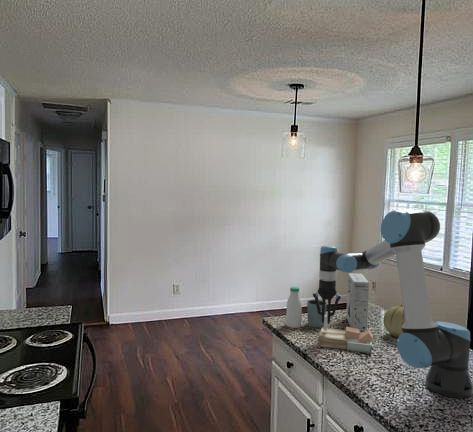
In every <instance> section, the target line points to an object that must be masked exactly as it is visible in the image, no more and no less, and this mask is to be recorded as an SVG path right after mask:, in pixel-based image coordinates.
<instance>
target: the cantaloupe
mask: <svg viewBox="0 0 473 432" xmlns="http://www.w3.org/2000/svg"><path fill="white" fill-rule="evenodd" d="M382 321H383V326H384V329H385V330H386V331H387V332H388V333H389V334H390V335H392V336H393V337H396V338H398V337H399V336H400V335H401V334H403V333H402V325H403V324H404V323H405V314H404V308H403V304H400V305H399V306H398V305H397V306H396V305H394V306H391V307H390V308H388V309H387V310H386V312H385V313H384V315H383V320H382Z"/></svg>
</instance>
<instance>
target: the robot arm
mask: <svg viewBox="0 0 473 432" xmlns="http://www.w3.org/2000/svg"><path fill="white" fill-rule="evenodd" d="M440 230H441V223H440V220H439V218H438V216H436V215H435V213H434V212H432V211H430V210H425V209H396V210H391V211H390V212H388V213H386V214H385V216H384V218H383V219H382V221H381V224H380V234H381V237H382V239H383V240H382V241H380V242H378V243H376V244H374V245H372V246H371V247H370V248H368V249H366V250H364V251H363V252H354V253H353V252H352V253H341V252H338V247H336V246H335V245H323V246H320V254H319V272H318V273H319V276H318V277H319V280H318V290H317V291H315V292H313V293H312V296H313V298H314V300H315V301H316V306H317V311H318V314H320V315H322V323H324V326H323V328H324V330H325V331H327V329H328V328H329V327H328V324H330V323H331V317H333V316H335V313H336V310H337V307H338V304H339V301H340V300H341V297H342V295H341V294H339V293H337V292H338V291H337V290H336V285H337V281H336V279H337V271H340V272H342V273H353V272H354V271H359V270H361V271H362V270H372V269H376V268H378V267H379V265H380V263H383V262H384V261H387V260H389V259H390V258H393V257H394V256H395V258H396V266H397V270H398V272H397V273H398V279H399V286H400V294H401V301H402V305H403V308H404V314H405V323H404V324H403V325H402V333H403V334H401V335H400V336H399V337H397V340H396V348H397V352H398V354H399V356H400V359H402V360H403V361H404V362H405V363H406V364H407V366H409V367H412V368H414V369H415V368H416V369H422V368H424V369H425V368H426V369H427V368H429V369H428V370H427V371H428V372H427V373H426V375H425V376H426V377H425V386H426V387H427V389H429V390H430V391H432V392H434V393H436V394H438V395H442V396H444V397H449V398H453V399H467V398H470V397H472V396H473V381H472V379H471V375H470V372H469V367H470V366H469V365H470V364H469V363H470V352H471V351H470V347H471V341H472V340H471V331H470V330H469V329H468V328H466V327H464V326H462V325H460V324H456V323H452V322H445V321H433V316H432V311H431V303H430V298H429V297H430V296H429V291H428V290H429V289H428V285H427V277H426V271H425V266H424V260H423V259H424V258H423V254H422V252H423V250H424V248H425V246H426V243H429V242H431V241H432V240H434V239H435V238H436V237H438V235H439V232H440ZM319 297H320V298H321V301H322V311H321V309H320V304H319V300H320V299H319ZM333 298H335V302H334V304H333V308H332V300H333ZM326 300H327V314H325V302H326Z"/></svg>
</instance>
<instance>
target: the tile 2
mask: <svg viewBox="0 0 473 432" xmlns="http://www.w3.org/2000/svg"><path fill="white" fill-rule="evenodd" d="M362 332H363V333H361V334H360V335H359V340H358V342H359V343H362V344H366V343H367V342H369V341H370V340H371V341H373V339H374V336H373V333H372V332H371V331H370V329H369V328H367V330H366V331H362Z"/></svg>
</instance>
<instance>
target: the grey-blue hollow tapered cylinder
mask: <svg viewBox="0 0 473 432" xmlns="http://www.w3.org/2000/svg"><path fill="white" fill-rule="evenodd" d="M306 302H307V303H306V306H307V307H306V308H307V309H306V310H307V325H308V326H309V327H311V328H324V323H322V315H320V314H318V311H317V306H316V301H315V299H309V300H307V301H306ZM319 304H320V309H321V311H322V299H321V300H320V299H319ZM327 309H328V302H327V301H325V315H327V314H326V313H327Z"/></svg>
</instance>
